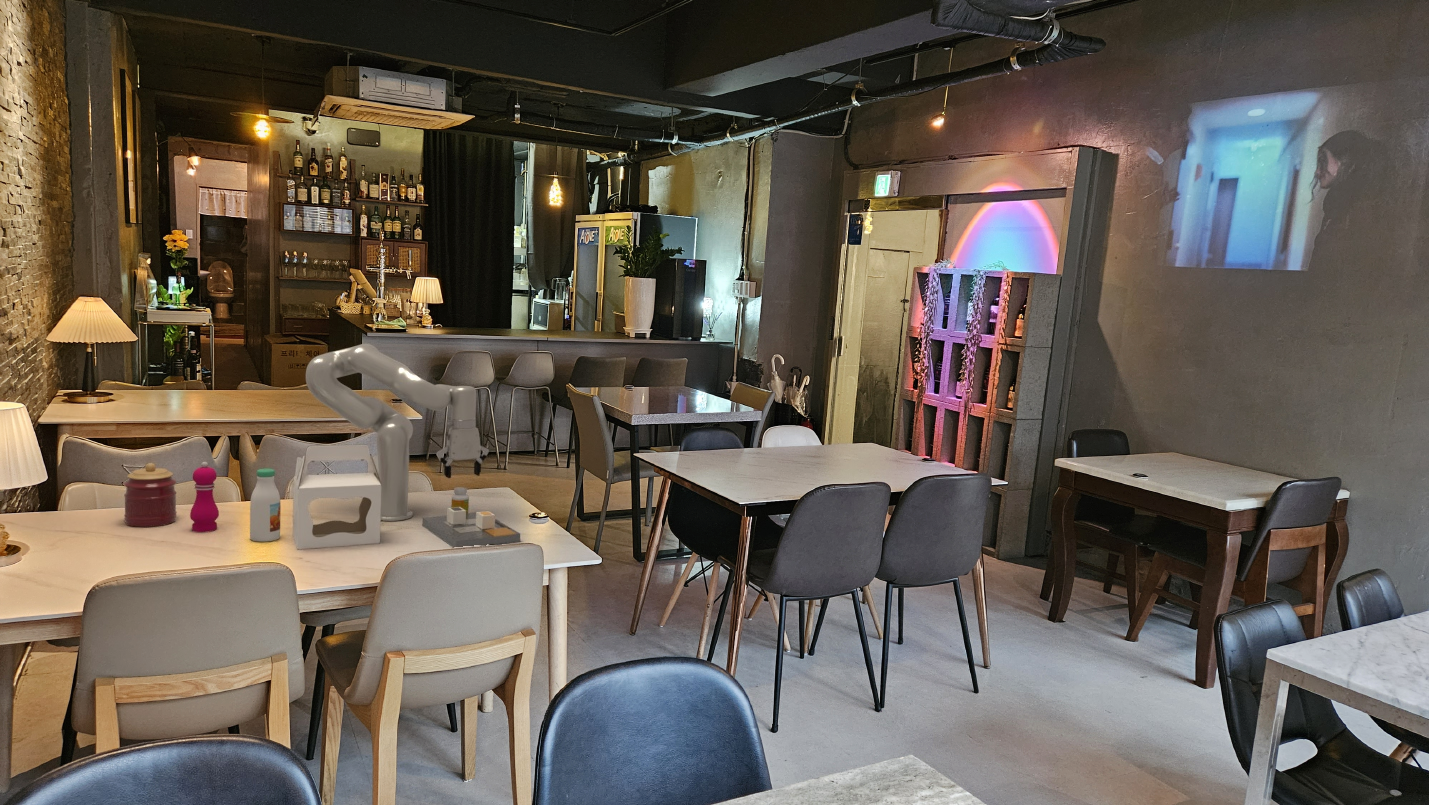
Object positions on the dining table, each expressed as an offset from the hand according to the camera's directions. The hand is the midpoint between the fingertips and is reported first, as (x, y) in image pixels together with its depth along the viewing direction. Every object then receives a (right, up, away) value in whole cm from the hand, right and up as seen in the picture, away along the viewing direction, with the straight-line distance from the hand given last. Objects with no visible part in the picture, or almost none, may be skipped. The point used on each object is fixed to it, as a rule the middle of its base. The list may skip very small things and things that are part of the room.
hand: (462, 476), depth 287 cm
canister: (-84, -11, -27) cm, 89 cm away
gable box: (-27, -16, -32) cm, 45 cm away
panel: (+7, -16, -16) cm, 24 cm away
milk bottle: (-46, -15, -35) cm, 60 cm away
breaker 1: (+2, -13, -15) cm, 20 cm away
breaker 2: (+12, -14, -17) cm, 25 cm away
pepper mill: (-66, -13, -31) cm, 74 cm away
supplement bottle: (-1, -14, +1) cm, 14 cm away
